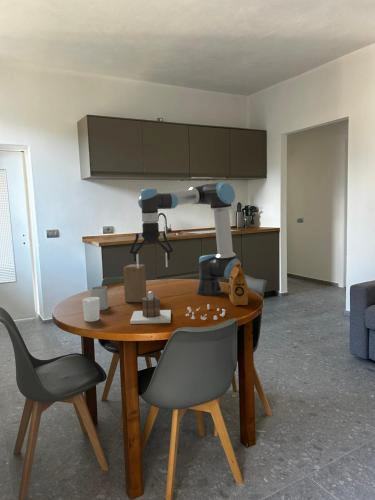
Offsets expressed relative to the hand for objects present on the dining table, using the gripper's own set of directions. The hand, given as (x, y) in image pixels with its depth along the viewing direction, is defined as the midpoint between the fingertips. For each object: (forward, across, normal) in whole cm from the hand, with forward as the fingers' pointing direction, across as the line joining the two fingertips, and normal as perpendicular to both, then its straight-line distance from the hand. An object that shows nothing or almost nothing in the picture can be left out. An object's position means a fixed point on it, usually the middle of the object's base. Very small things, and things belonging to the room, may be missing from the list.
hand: (152, 267), depth 176 cm
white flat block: (+24, -1, -4) cm, 24 cm away
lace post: (+22, -1, -4) cm, 22 cm away
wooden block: (+24, -12, +32) cm, 42 cm away
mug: (+24, -29, +20) cm, 42 cm away
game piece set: (+24, +25, -1) cm, 35 cm away
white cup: (+24, -29, -2) cm, 38 cm away
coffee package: (+24, +44, +18) cm, 53 cm away
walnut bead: (+22, -1, -4) cm, 22 cm away
